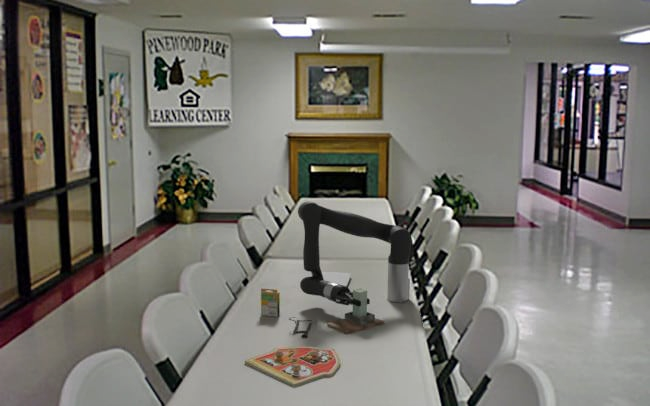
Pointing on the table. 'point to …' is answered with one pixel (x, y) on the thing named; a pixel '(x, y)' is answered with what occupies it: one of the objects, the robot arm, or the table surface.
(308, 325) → the hacksaw
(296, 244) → the table surface
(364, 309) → the peg block
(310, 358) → the knob puzzle
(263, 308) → the crayon box
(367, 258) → the table surface
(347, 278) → the tablet
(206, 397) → the table surface
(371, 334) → the table surface
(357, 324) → the tool stand
